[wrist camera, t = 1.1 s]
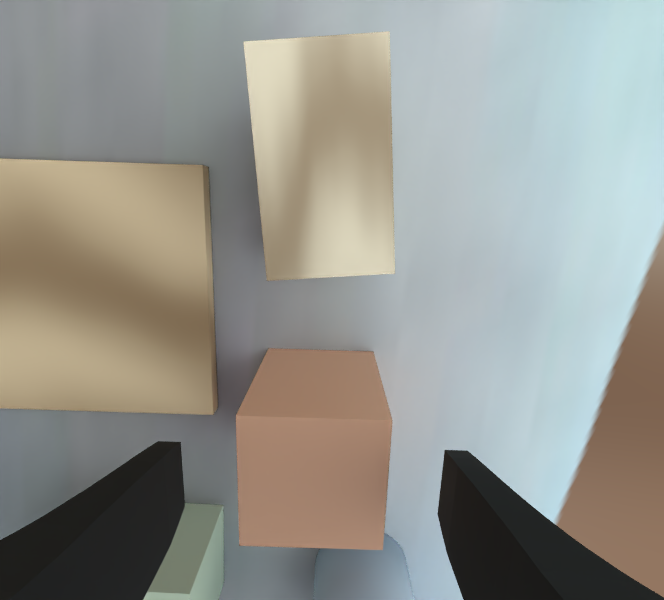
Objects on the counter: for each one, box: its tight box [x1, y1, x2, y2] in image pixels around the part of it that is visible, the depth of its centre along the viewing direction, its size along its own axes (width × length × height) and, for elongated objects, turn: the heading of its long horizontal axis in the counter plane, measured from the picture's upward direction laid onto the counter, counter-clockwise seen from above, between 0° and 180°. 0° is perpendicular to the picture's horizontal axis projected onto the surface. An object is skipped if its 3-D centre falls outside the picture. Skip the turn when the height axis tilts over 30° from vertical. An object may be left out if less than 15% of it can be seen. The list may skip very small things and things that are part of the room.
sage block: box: [143, 503, 224, 600], centre depth 15 cm, size 4×6×4 cm, turn 87°
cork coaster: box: [0, 159, 218, 415], centre depth 14 cm, size 9×9×1 cm
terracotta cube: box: [236, 348, 392, 550], centre depth 13 cm, size 4×4×5 cm
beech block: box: [244, 32, 395, 281], centre depth 11 cm, size 5×5×3 cm
